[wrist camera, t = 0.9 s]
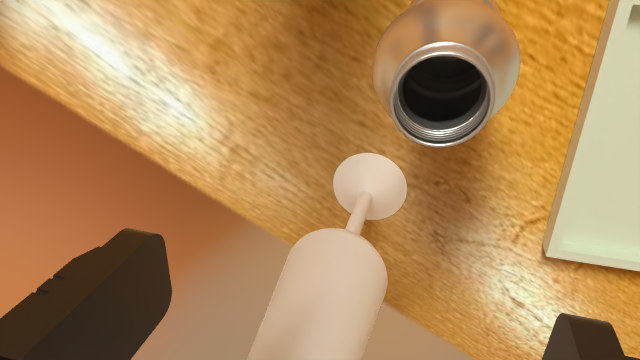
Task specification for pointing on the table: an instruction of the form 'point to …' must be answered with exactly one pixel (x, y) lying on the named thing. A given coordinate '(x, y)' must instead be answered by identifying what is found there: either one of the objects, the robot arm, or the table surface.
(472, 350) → the table surface
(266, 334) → the champagne flute
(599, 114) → the tray
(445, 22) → the silver metal bottle
